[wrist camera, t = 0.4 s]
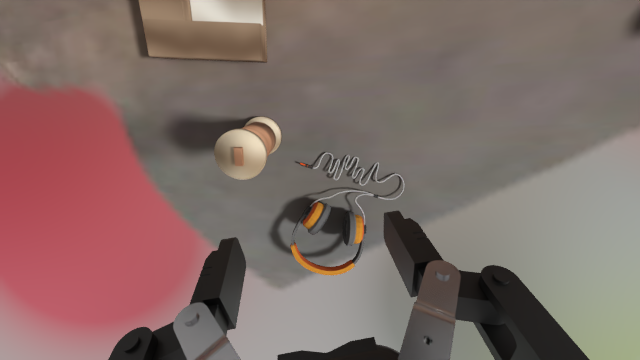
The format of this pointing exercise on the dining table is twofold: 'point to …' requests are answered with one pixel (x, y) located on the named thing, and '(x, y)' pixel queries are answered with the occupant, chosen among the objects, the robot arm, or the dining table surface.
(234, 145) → the bobbin
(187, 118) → the dining table surface
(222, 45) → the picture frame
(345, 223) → the headphones
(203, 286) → the robot arm
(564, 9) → the dining table surface
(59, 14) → the dining table surface
